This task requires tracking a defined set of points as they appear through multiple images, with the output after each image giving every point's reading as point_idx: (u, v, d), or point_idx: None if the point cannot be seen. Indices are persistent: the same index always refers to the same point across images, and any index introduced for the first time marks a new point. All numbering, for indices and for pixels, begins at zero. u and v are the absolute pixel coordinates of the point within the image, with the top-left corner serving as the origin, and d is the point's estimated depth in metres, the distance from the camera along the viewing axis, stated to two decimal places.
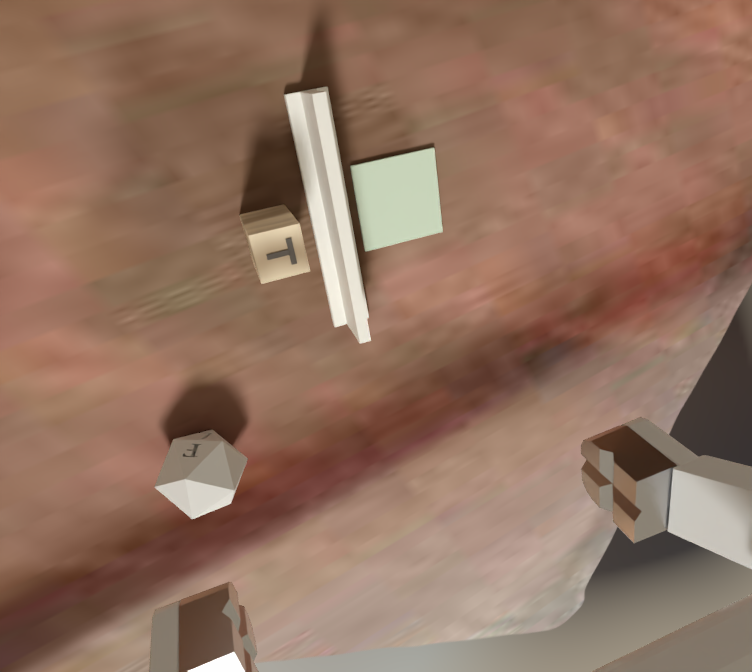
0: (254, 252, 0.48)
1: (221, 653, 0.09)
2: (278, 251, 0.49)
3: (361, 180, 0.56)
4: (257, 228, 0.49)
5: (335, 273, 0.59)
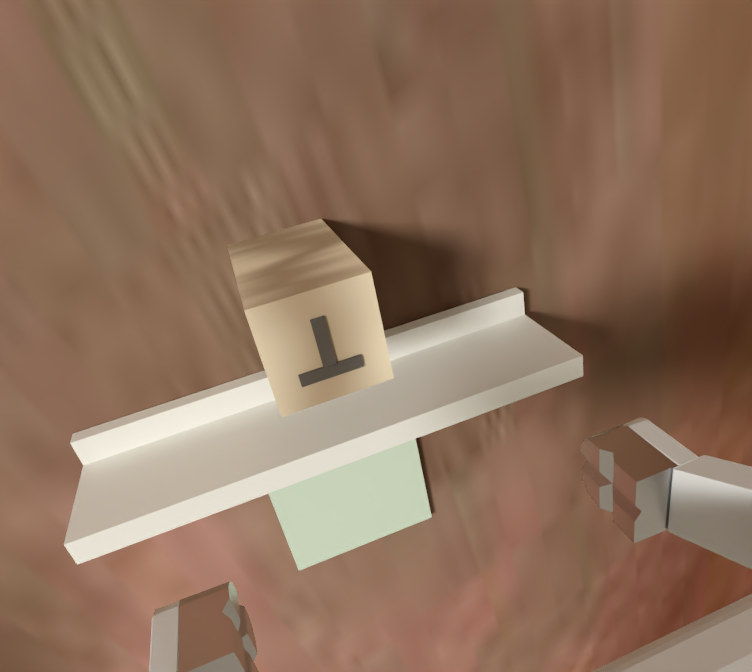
0: (329, 287, 0.19)
1: (221, 653, 0.09)
2: (331, 343, 0.20)
3: None
4: None
5: (208, 420, 0.28)
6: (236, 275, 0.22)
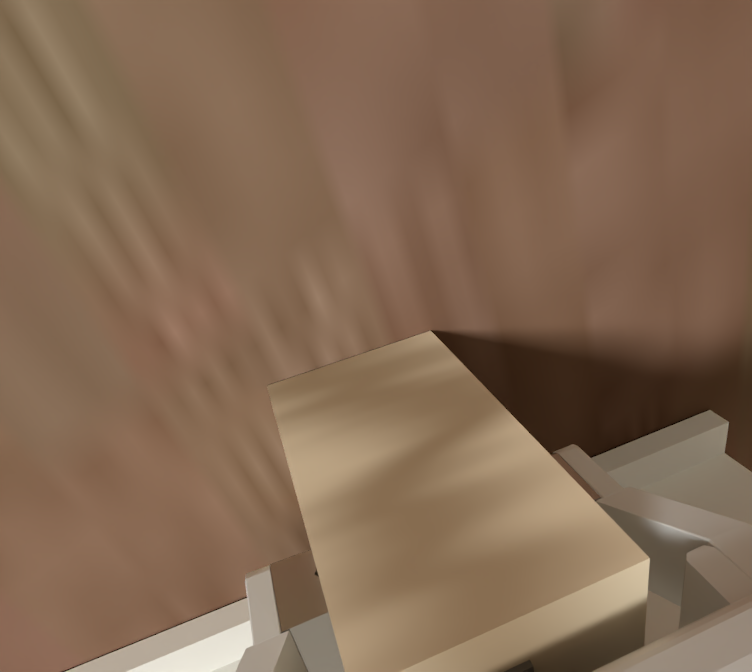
0: (554, 607, 0.08)
1: (320, 611, 0.10)
2: None
3: None
4: None
5: (229, 660, 0.16)
6: (301, 502, 0.10)
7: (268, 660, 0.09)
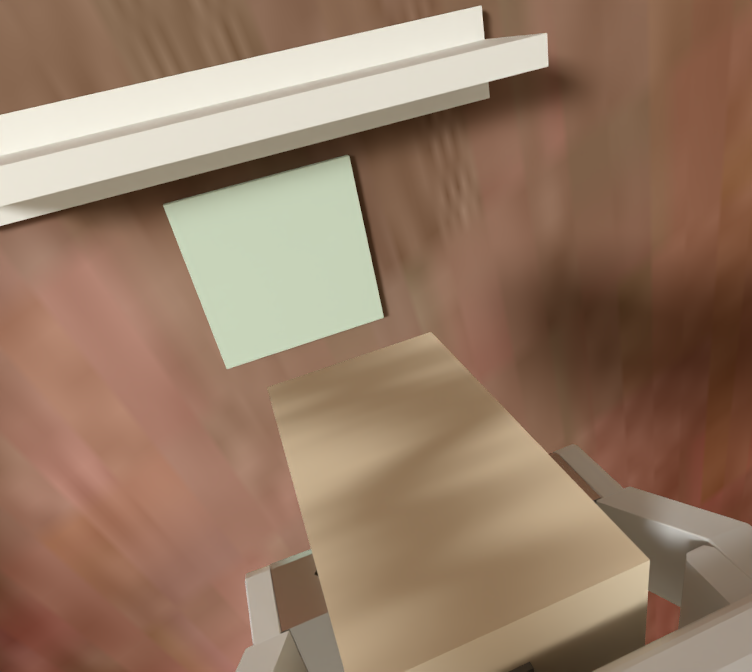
0: (554, 609, 0.08)
1: (320, 611, 0.10)
2: None
3: (322, 181, 0.27)
4: None
5: (95, 129, 0.23)
6: (301, 503, 0.10)
7: (268, 660, 0.09)
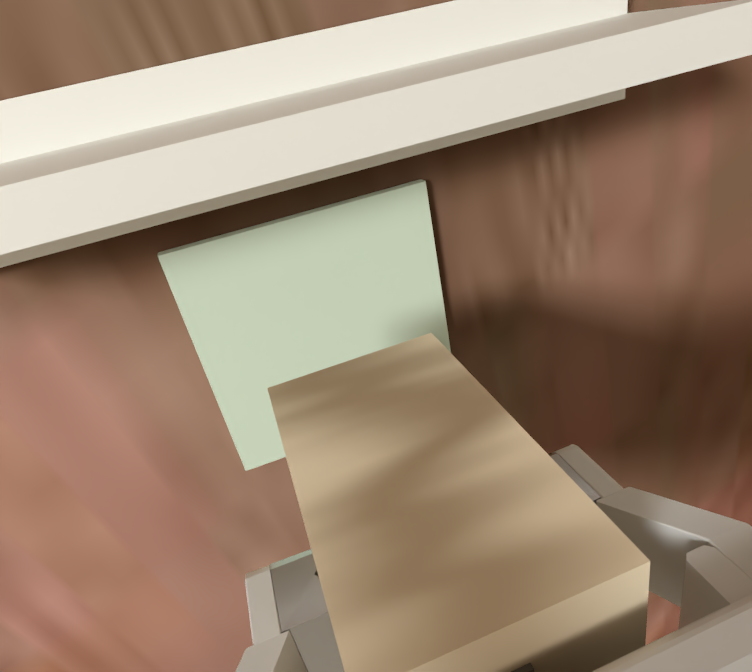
0: (555, 610, 0.08)
1: (320, 611, 0.10)
2: None
3: (386, 217, 0.19)
4: None
5: (51, 145, 0.15)
6: (302, 504, 0.10)
7: (268, 660, 0.09)
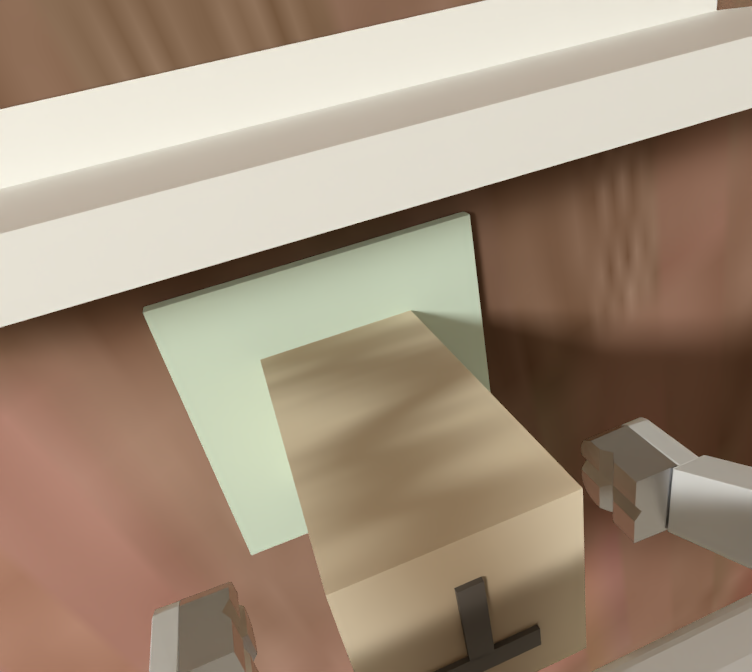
0: (500, 528, 0.09)
1: (221, 653, 0.09)
2: (489, 619, 0.10)
3: (422, 258, 0.16)
4: None
5: (2, 180, 0.11)
6: (288, 453, 0.12)
7: None
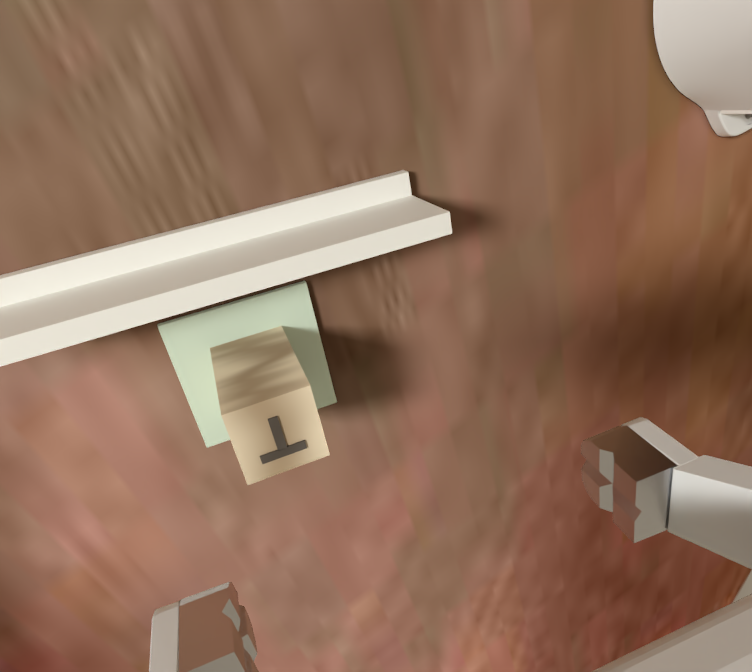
0: (280, 397, 0.27)
1: (221, 653, 0.09)
2: (283, 433, 0.28)
3: (284, 302, 0.34)
4: None
5: (106, 275, 0.30)
6: (216, 380, 0.30)
7: None
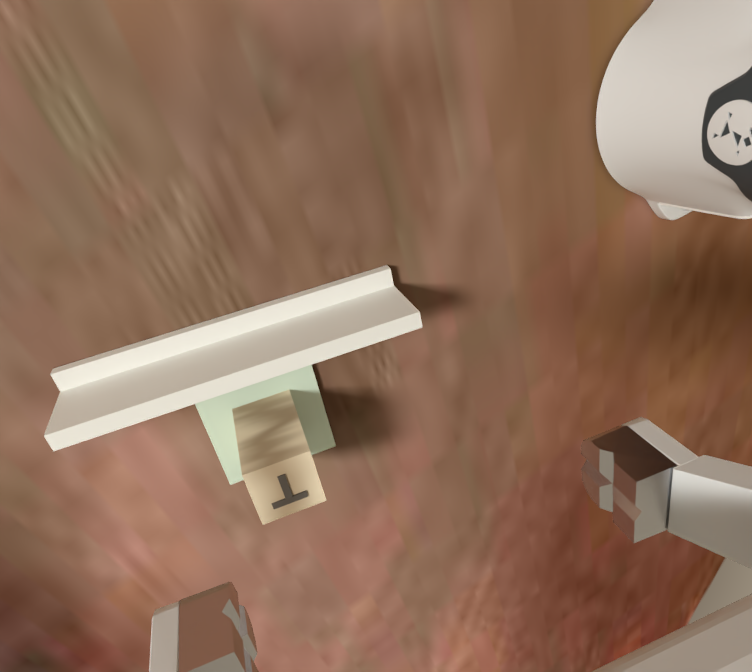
0: (287, 460, 0.36)
1: (221, 653, 0.09)
2: (289, 486, 0.37)
3: (291, 371, 0.42)
4: None
5: (151, 360, 0.38)
6: (237, 442, 0.38)
7: None
